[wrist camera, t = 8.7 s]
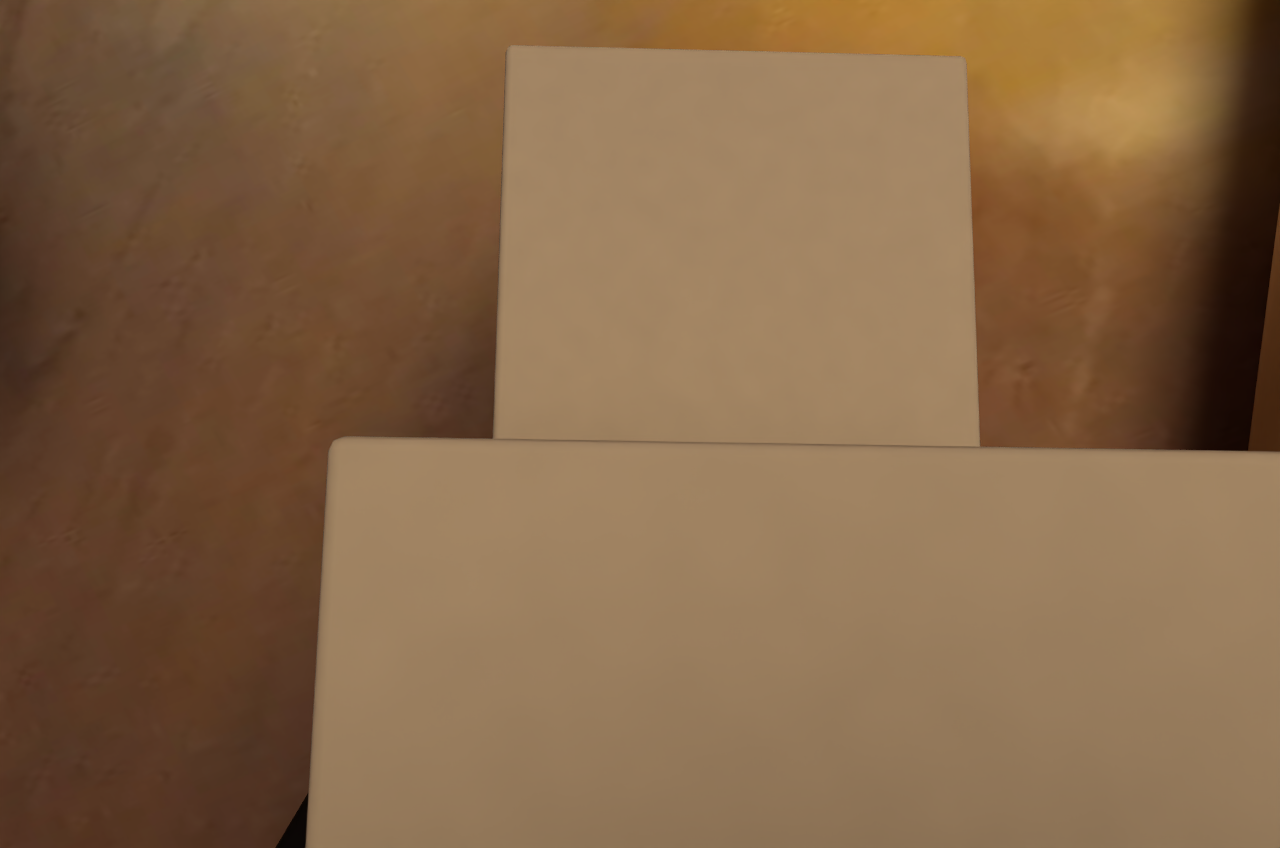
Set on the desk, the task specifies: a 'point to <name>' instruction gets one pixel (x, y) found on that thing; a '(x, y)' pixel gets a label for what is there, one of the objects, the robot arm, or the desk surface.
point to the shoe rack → (1269, 367)
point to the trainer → (776, 518)
